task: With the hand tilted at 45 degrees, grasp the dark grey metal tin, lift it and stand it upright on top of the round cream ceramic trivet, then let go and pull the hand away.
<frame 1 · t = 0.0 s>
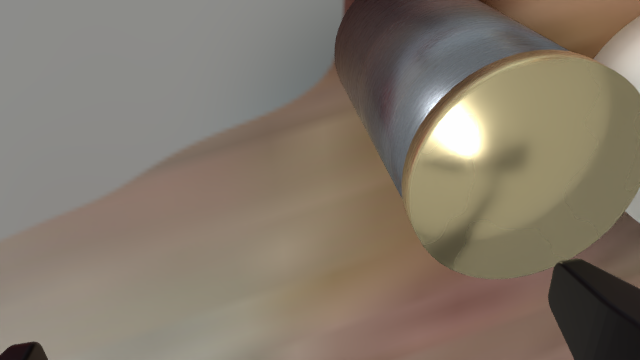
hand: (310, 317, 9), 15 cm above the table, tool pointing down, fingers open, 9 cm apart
grey tin: (405, 48, 23), on the table
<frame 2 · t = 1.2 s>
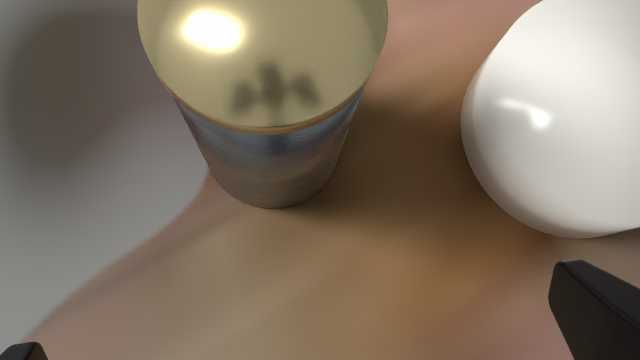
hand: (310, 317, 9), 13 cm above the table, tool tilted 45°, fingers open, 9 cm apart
ceramic trivet: (564, 132, 25), on the table
grey tin: (272, 142, 24), on the table
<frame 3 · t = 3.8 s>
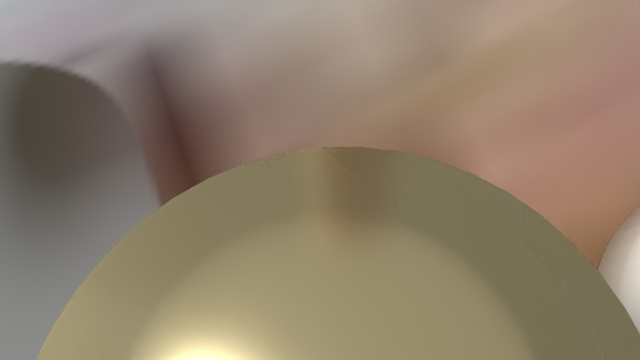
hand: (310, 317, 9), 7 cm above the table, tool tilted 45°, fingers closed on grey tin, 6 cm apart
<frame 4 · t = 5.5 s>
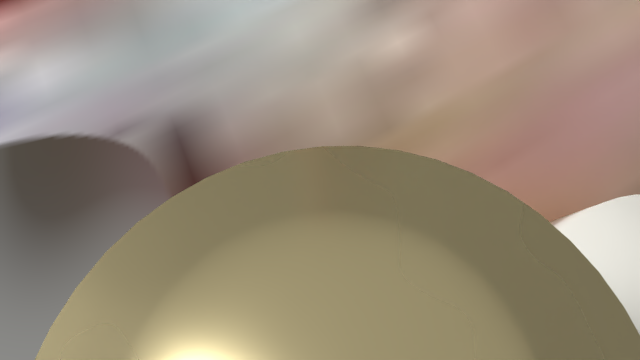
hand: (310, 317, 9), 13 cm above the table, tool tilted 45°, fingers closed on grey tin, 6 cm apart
ceramic trivet: (605, 327, 23), on the table
when the fingers open (12 cm above the table, at t = 7.5 s): grey tin drops 2 cm, resting on ceramic trivet.
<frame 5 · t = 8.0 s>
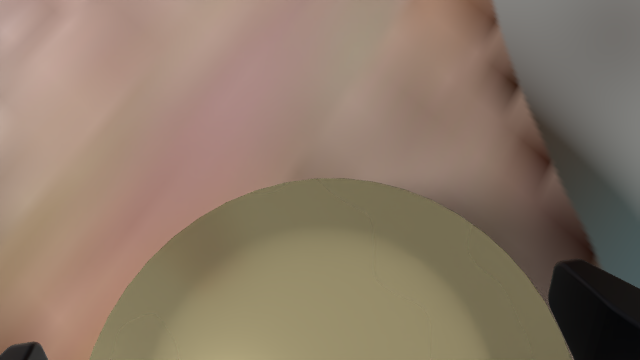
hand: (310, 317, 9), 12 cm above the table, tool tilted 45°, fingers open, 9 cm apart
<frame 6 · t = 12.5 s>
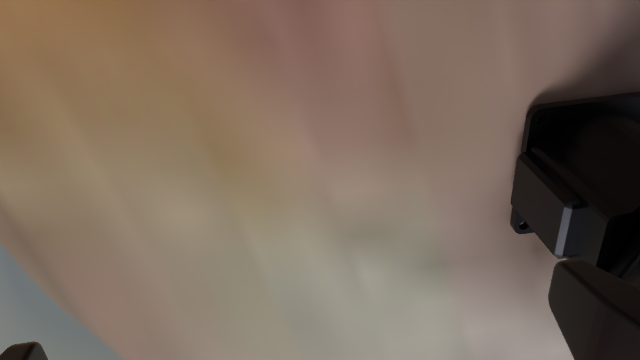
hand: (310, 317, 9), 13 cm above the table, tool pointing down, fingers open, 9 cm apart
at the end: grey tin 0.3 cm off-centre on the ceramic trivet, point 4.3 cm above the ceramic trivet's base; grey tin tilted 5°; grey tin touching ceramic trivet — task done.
